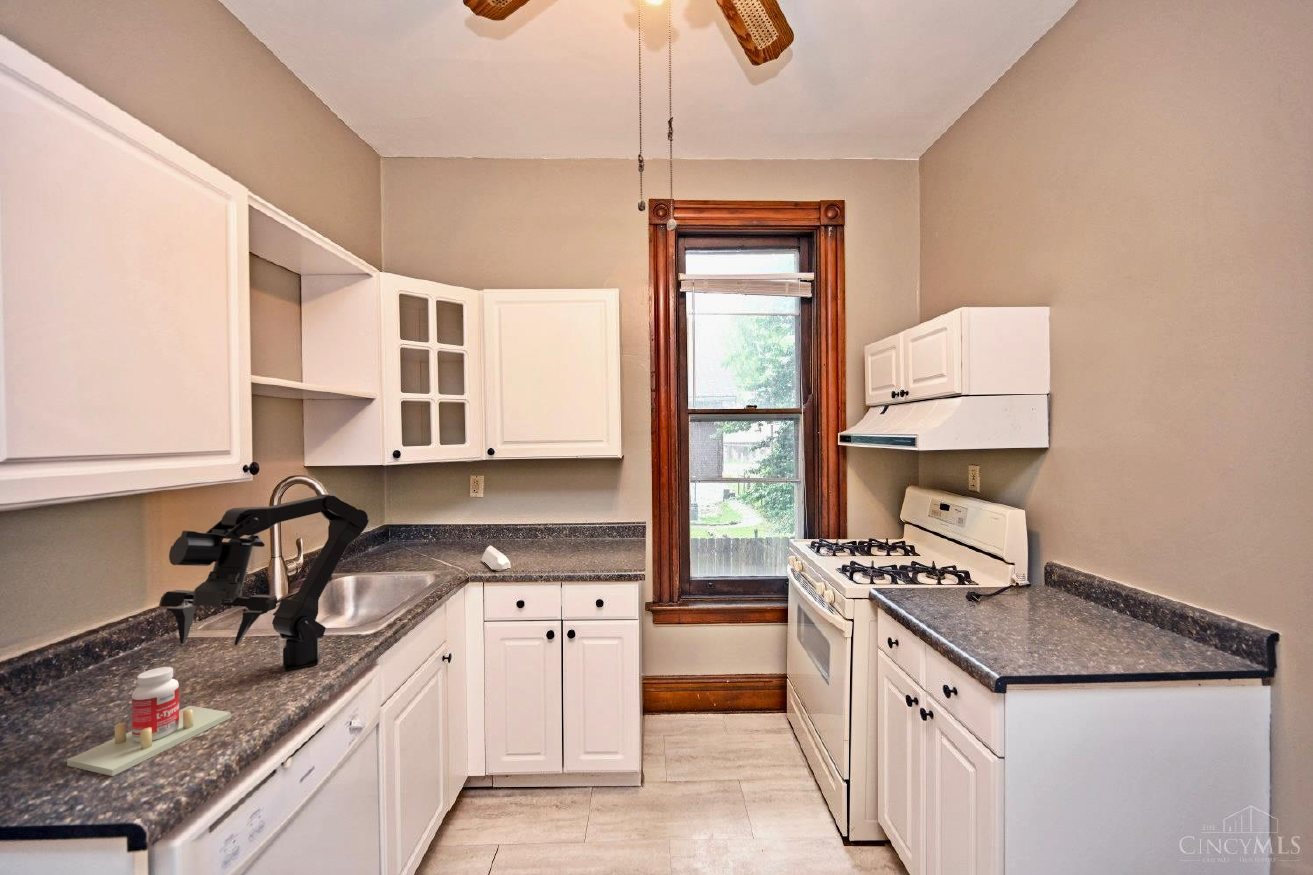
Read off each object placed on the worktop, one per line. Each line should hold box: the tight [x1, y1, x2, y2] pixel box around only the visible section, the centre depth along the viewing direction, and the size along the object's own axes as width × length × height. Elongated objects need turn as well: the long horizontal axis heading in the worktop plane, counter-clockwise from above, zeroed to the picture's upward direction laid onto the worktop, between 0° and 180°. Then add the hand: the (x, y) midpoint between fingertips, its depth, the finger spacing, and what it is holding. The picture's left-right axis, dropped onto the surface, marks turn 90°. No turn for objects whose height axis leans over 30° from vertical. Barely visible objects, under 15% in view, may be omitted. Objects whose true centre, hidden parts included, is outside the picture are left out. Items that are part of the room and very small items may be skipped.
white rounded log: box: [481, 545, 512, 570], centre depth 220 cm, size 7×7×24 cm
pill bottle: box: [131, 666, 180, 742], centre depth 94 cm, size 6×6×11 cm
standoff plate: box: [66, 705, 232, 777], centre depth 94 cm, size 18×11×4 cm, turn 164°
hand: (209, 644), depth 108 cm, fingers open, 9 cm apart
